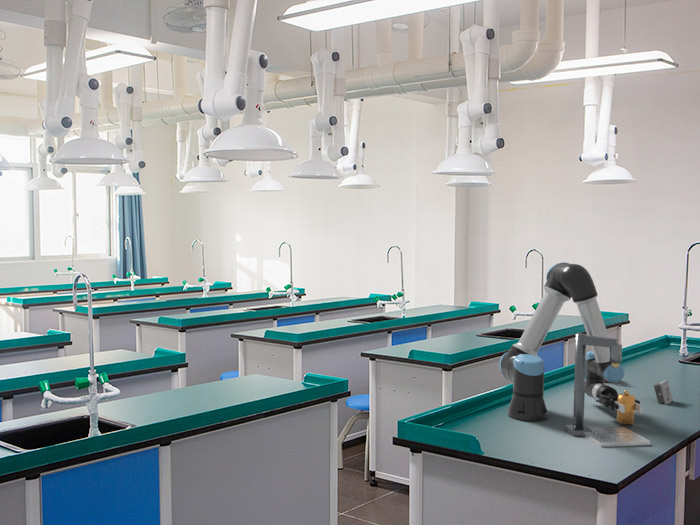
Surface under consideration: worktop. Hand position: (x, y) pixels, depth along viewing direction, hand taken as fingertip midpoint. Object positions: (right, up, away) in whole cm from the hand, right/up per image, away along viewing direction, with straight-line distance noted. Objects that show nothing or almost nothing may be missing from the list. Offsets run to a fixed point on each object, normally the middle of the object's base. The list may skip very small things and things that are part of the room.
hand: (632, 409), depth 255 cm
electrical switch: (+30, -6, +42) cm, 52 cm away
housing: (-1, -6, +5) cm, 8 cm away
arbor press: (-14, -8, -11) cm, 19 cm away
